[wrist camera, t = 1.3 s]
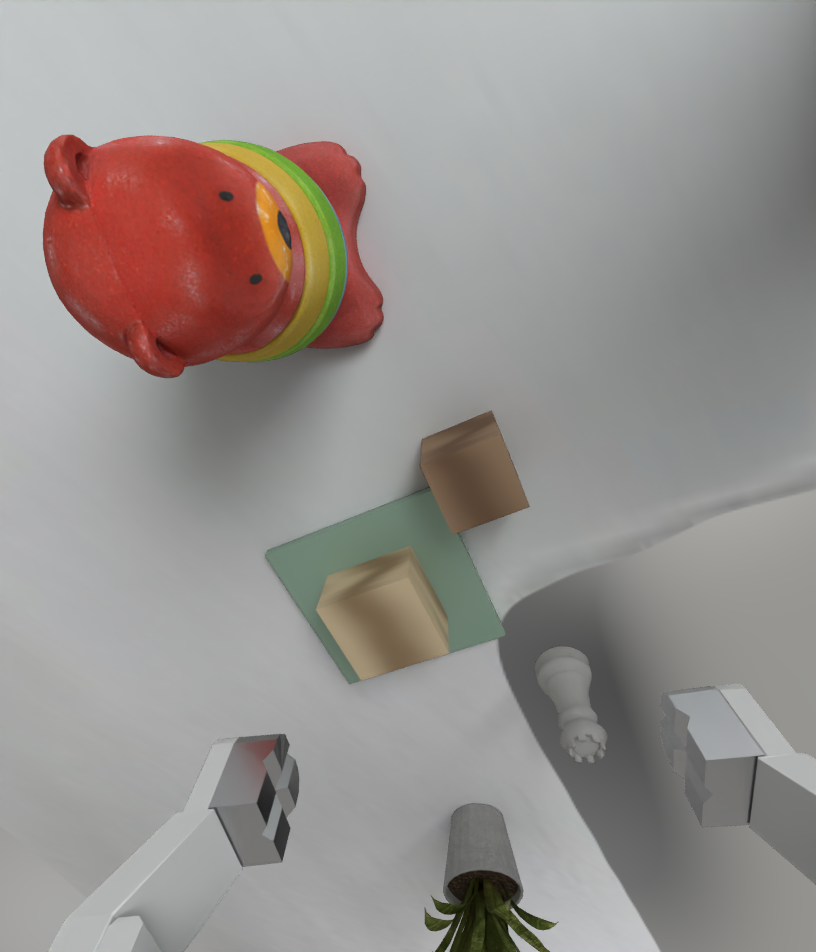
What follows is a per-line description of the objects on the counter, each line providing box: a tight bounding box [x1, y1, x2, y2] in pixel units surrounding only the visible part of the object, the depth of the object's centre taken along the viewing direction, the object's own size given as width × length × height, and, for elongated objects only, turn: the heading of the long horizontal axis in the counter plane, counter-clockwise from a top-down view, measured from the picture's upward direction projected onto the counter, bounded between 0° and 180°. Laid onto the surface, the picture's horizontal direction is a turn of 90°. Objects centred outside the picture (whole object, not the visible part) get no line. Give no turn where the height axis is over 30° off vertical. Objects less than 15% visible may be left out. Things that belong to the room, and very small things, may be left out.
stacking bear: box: [43, 135, 384, 378], centre depth 21 cm, size 11×10×18 cm
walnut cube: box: [420, 410, 529, 535], centre depth 32 cm, size 5×5×5 cm
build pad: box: [265, 488, 505, 684], centre depth 39 cm, size 14×14×1 cm
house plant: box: [425, 804, 559, 952], centre depth 42 cm, size 14×14×16 cm
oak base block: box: [316, 545, 449, 681], centre depth 37 cm, size 7×7×4 cm
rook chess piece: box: [534, 646, 607, 764], centre depth 37 cm, size 4×4×8 cm
